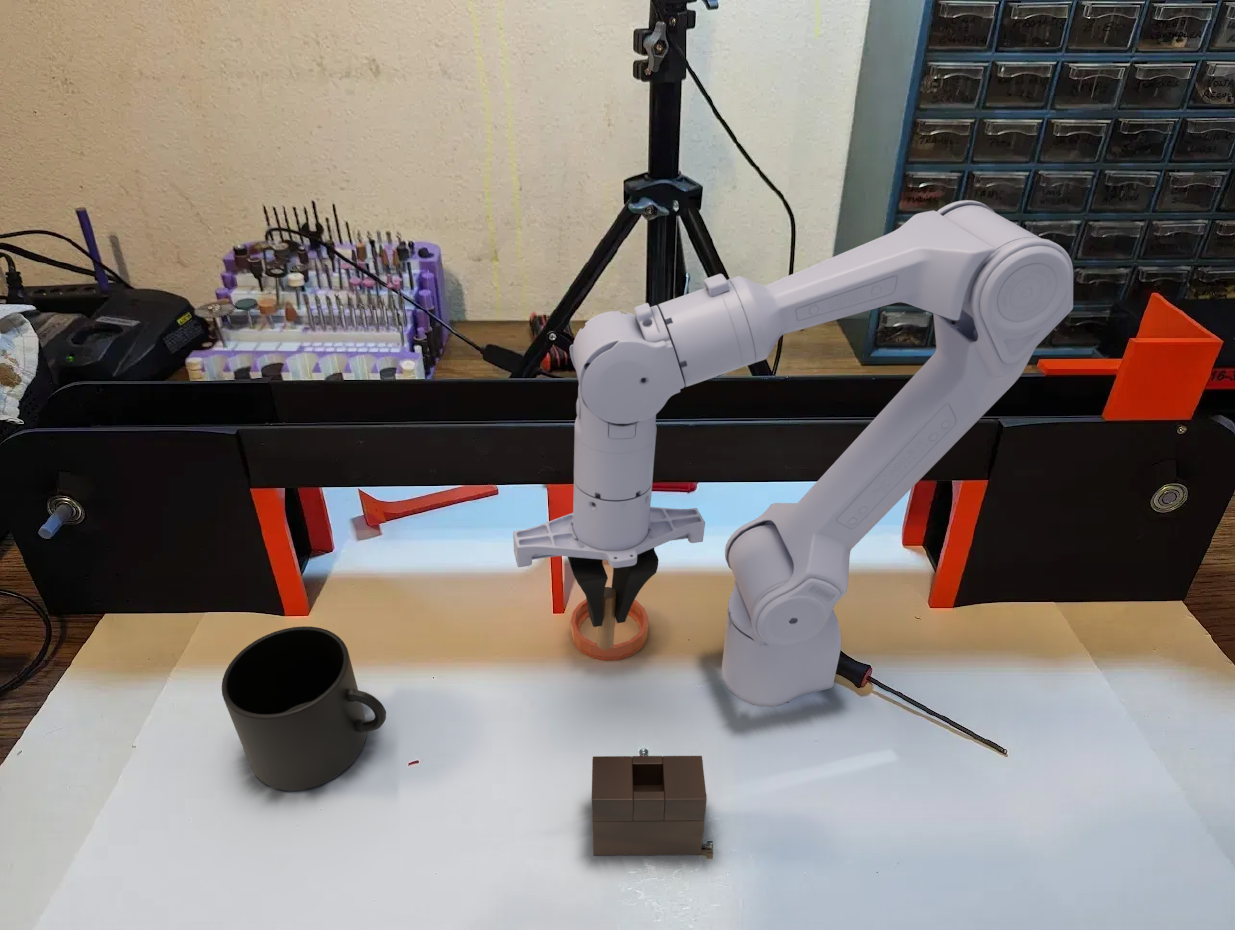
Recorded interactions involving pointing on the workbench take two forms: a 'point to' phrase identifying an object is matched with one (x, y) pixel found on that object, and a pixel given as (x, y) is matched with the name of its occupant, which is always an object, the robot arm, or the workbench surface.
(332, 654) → the mug
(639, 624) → the ring
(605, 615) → the stick
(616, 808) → the stand
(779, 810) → the workbench surface
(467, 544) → the workbench surface
